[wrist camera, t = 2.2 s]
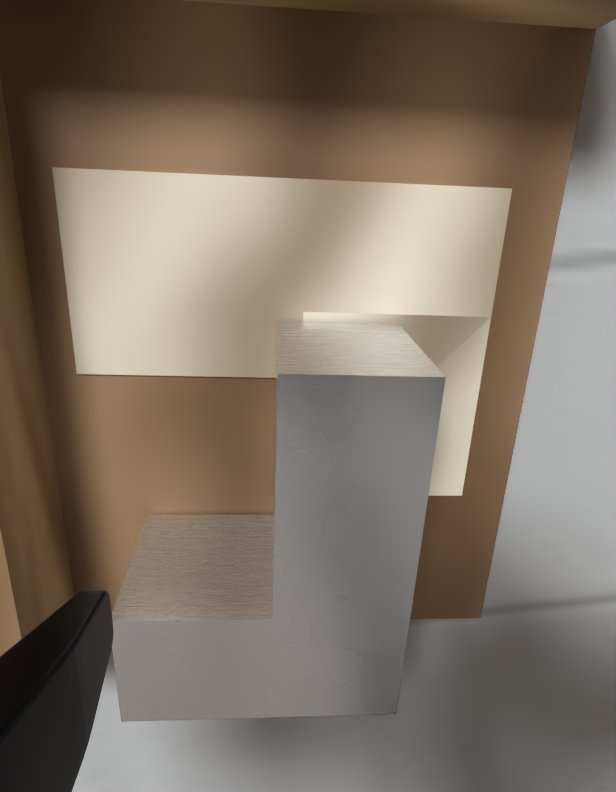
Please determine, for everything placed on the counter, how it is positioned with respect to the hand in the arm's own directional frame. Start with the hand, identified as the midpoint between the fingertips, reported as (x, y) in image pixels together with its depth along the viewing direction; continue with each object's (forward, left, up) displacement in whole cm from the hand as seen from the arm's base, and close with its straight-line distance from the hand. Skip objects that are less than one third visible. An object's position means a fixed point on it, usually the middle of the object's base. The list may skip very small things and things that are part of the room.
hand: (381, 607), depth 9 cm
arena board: (+2, -2, -9) cm, 9 cm away
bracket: (+2, +2, -8) cm, 8 cm away
